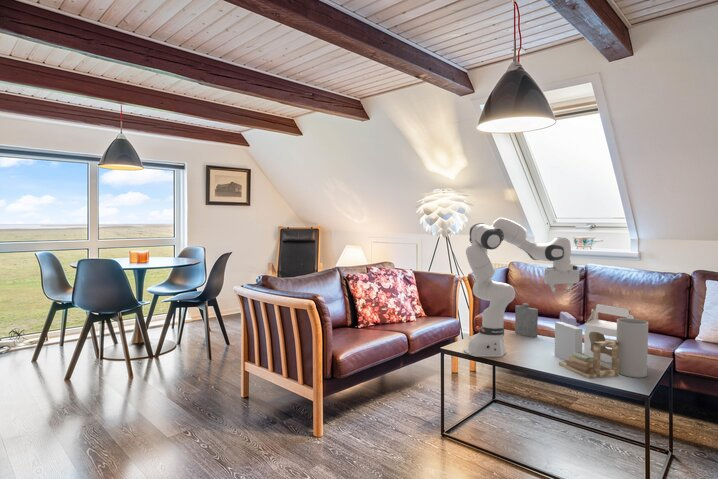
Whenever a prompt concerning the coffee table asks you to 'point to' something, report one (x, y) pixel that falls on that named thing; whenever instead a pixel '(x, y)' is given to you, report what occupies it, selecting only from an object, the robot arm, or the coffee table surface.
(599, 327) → the gable box
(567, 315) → the cake pan box
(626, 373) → the cylinder vase
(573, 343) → the tall board
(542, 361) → the coffee table surface
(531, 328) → the hip flask
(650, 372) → the coffee table surface
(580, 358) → the offcut stack
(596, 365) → the rack
